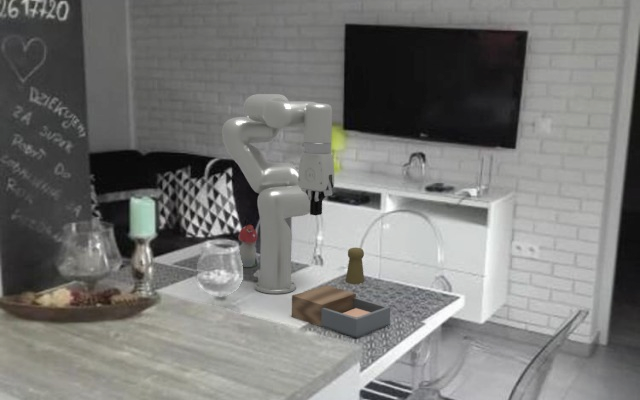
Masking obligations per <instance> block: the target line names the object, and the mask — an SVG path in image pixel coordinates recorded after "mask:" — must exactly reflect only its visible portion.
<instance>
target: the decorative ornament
mask: <svg viewBox="0 0 640 400" xmlns="http://www.w3.org/2000/svg"><path fill="white" fill-rule="evenodd" d="M238 240H239V241H240V242H241V245H240V248H239V250H240V255H241V260H242V263H243V268H254V267H257V266H258V258H257V256H256V255H257V254H256V247H255V245H254V244H255V243H256V241H257V240H258V234H257V232H256V229H254V226H253V225H252V224H247V225H244V226H243V227H242V228H241V229H240V231H239V233H238Z"/></svg>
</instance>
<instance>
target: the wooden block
mask: <svg viewBox="0 0 640 400" xmlns="http://www.w3.org/2000/svg"><path fill="white" fill-rule="evenodd" d="M355 297H357V293H355V292H350V291H347V290H345V289H340V288H337V287H333V286H330V285H327V284H326V285H323V286H319V287H316V288H313V289H309V290H307V291H303V292H299V293H297V294H292V295H291V317H292V318H295V319H298V320H301V321H304V322H306V323H309V324H312V325H315V326H318V327H321V316H322V308H327V309H330V310H333V311H337V312H340V313H344V312H347V311H350V310H352V309H353V299H354V298H355Z"/></svg>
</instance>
